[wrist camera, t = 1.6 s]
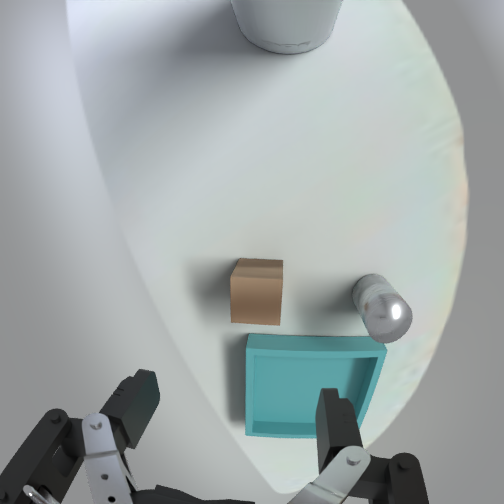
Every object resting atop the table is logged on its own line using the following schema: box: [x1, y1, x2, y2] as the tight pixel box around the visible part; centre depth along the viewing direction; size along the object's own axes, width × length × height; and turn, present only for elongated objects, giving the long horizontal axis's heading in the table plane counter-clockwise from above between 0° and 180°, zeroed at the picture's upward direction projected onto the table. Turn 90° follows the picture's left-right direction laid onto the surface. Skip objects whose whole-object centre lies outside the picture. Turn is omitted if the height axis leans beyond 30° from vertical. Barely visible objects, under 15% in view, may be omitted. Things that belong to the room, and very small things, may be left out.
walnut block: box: [230, 258, 283, 326], centre depth 25 cm, size 4×4×5 cm
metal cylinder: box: [352, 274, 412, 343], centre depth 23 cm, size 4×4×6 cm
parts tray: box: [245, 334, 387, 438], centre depth 29 cm, size 14×14×3 cm
